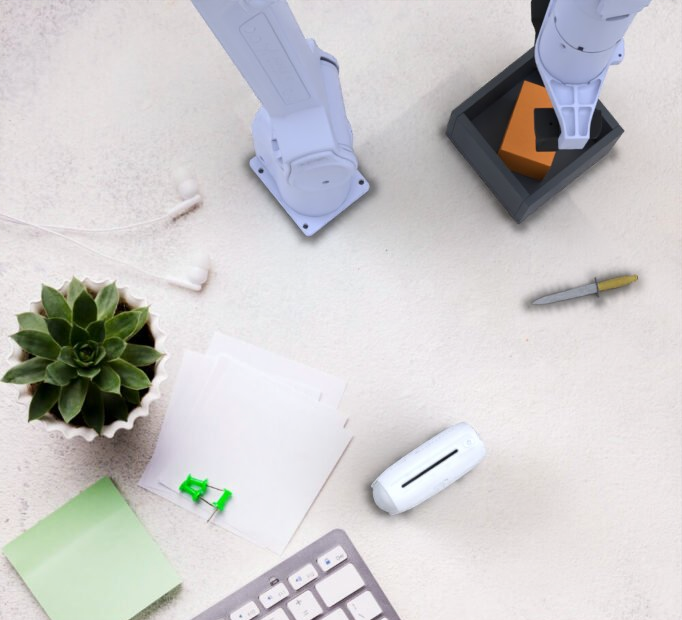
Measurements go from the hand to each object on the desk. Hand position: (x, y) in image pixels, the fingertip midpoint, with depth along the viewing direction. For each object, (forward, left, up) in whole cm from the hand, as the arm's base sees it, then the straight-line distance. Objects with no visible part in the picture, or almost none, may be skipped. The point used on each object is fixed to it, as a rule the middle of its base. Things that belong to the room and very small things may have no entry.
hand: (545, 105), depth 77 cm
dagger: (+15, -5, -8) cm, 17 cm away
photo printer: (+19, -29, -8) cm, 35 cm away
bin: (0, 0, -7) cm, 7 cm away
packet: (0, 0, -7) cm, 7 cm away
